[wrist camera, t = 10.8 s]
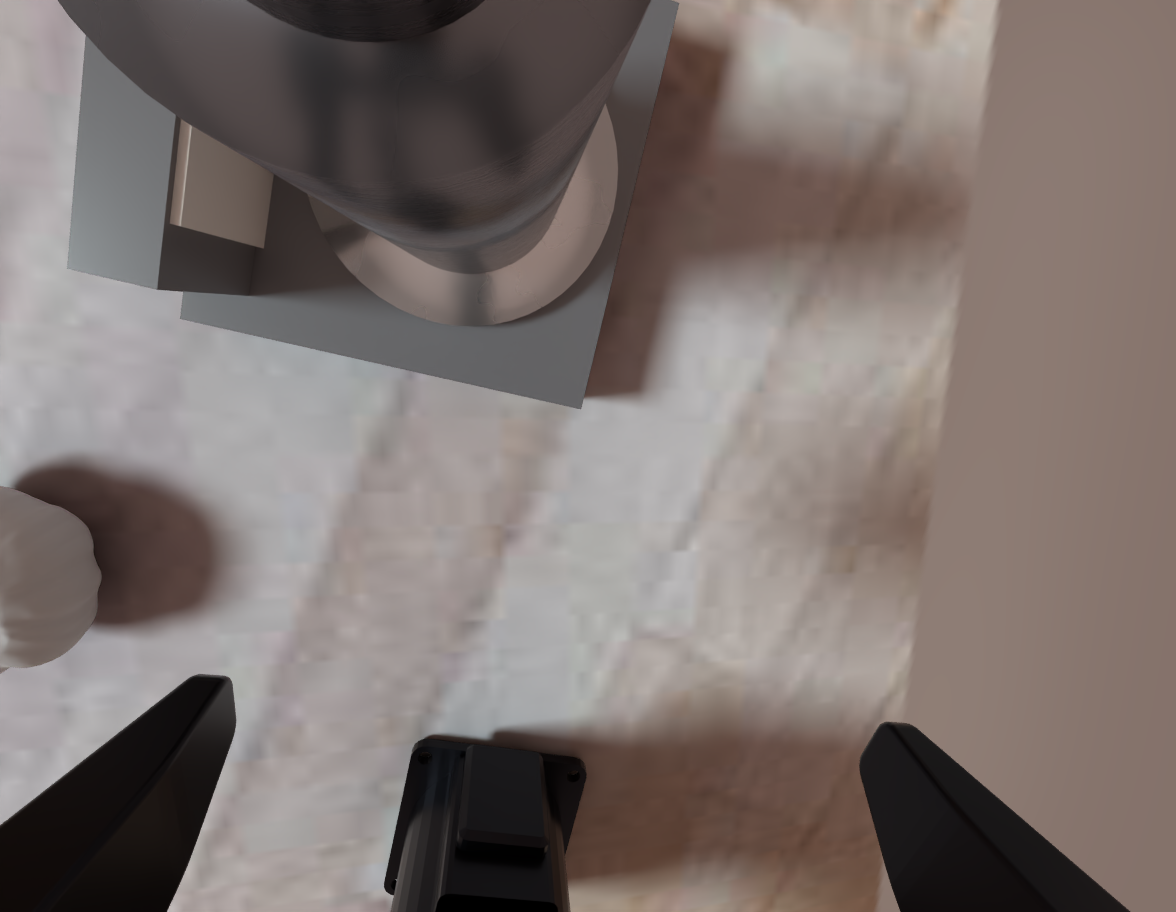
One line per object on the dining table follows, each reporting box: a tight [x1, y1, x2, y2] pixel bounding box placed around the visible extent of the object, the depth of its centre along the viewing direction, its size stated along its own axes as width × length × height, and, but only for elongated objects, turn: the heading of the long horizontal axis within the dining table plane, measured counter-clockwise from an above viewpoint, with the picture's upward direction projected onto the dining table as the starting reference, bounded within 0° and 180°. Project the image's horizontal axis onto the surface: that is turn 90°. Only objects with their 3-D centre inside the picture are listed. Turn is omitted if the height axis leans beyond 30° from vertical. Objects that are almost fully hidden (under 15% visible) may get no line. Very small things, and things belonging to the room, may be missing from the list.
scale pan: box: [308, 104, 618, 326], centre depth 16 cm, size 8×8×1 cm
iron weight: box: [58, 0, 651, 274], centre depth 10 cm, size 5×5×14 cm
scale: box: [67, 0, 679, 409], centre depth 15 cm, size 11×11×7 cm
